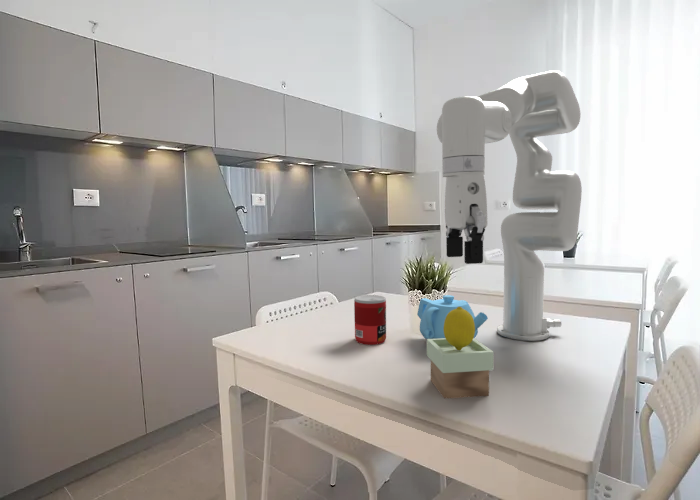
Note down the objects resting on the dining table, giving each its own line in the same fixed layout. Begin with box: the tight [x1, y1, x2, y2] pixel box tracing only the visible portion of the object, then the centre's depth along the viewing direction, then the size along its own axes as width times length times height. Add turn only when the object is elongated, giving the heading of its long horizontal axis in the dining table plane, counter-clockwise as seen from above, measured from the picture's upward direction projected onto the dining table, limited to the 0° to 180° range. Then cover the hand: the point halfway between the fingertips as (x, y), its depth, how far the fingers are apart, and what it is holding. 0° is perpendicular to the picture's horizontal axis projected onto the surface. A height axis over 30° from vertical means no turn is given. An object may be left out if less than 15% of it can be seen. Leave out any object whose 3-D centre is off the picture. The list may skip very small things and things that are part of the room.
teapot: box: [417, 294, 488, 340], centre depth 101 cm, size 20×17×12 cm
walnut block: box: [430, 360, 490, 400], centre depth 75 cm, size 8×8×5 cm
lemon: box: [444, 307, 475, 350], centre depth 75 cm, size 6×6×8 cm
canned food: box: [353, 294, 387, 346], centre depth 104 cm, size 8×8×11 cm
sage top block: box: [426, 337, 495, 373], centre depth 75 cm, size 9×9×3 cm
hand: (463, 259), depth 78 cm, fingers open, 9 cm apart
